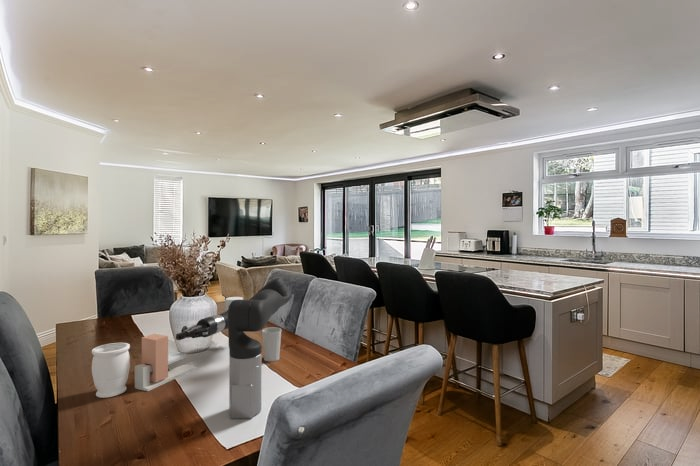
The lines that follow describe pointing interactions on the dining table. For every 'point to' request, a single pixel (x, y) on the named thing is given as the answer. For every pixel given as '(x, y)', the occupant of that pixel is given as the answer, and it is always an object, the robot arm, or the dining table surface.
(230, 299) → the supplement tub
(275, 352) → the cup
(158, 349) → the salmon pink rectangular block
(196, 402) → the dining table surface
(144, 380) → the pipe stand
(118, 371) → the jar
